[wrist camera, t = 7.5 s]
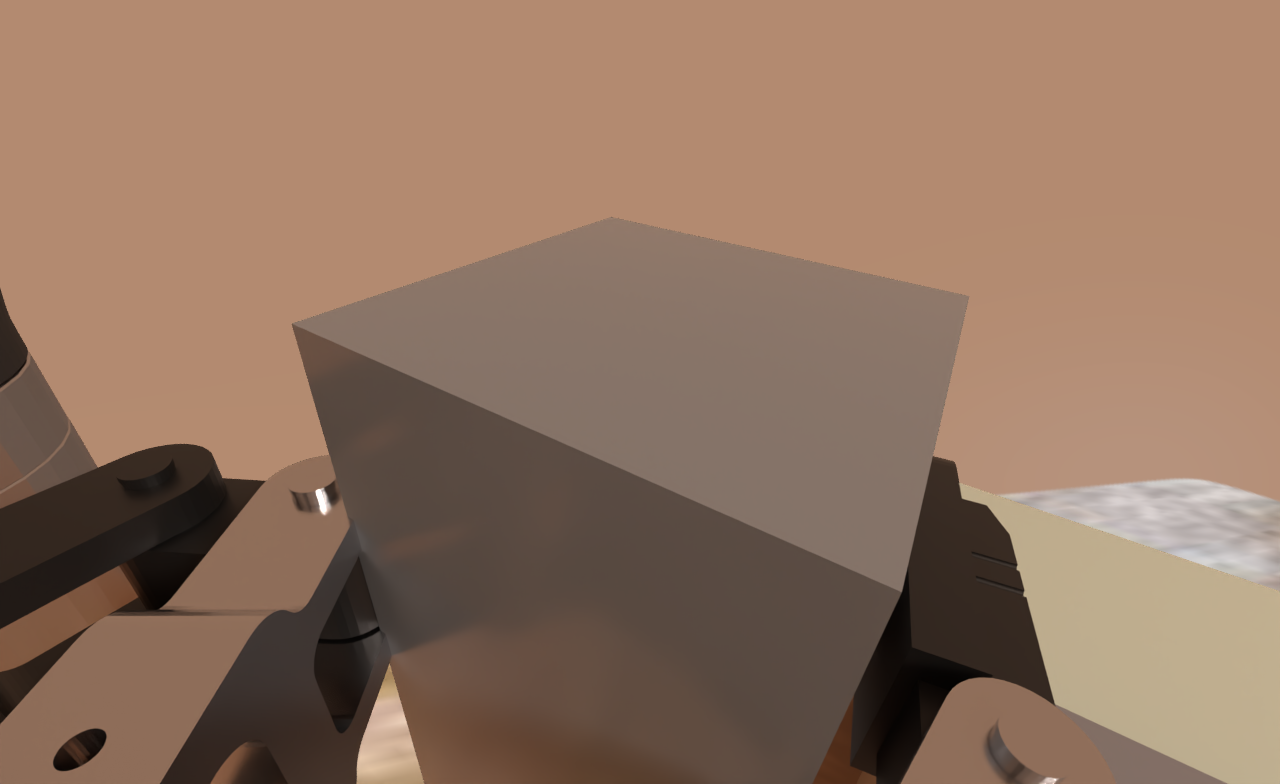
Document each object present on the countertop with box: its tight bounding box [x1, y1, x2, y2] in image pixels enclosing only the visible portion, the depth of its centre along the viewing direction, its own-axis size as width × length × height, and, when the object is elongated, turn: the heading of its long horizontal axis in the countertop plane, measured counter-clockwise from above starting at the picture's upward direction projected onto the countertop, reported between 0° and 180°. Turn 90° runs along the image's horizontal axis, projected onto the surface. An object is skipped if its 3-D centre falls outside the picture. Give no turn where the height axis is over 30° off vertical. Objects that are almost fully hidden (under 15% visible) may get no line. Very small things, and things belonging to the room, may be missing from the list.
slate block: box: [292, 217, 969, 784], centre depth 8 cm, size 5×5×10 cm
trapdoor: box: [959, 483, 1280, 784], centre depth 15 cm, size 12×15×4 cm
